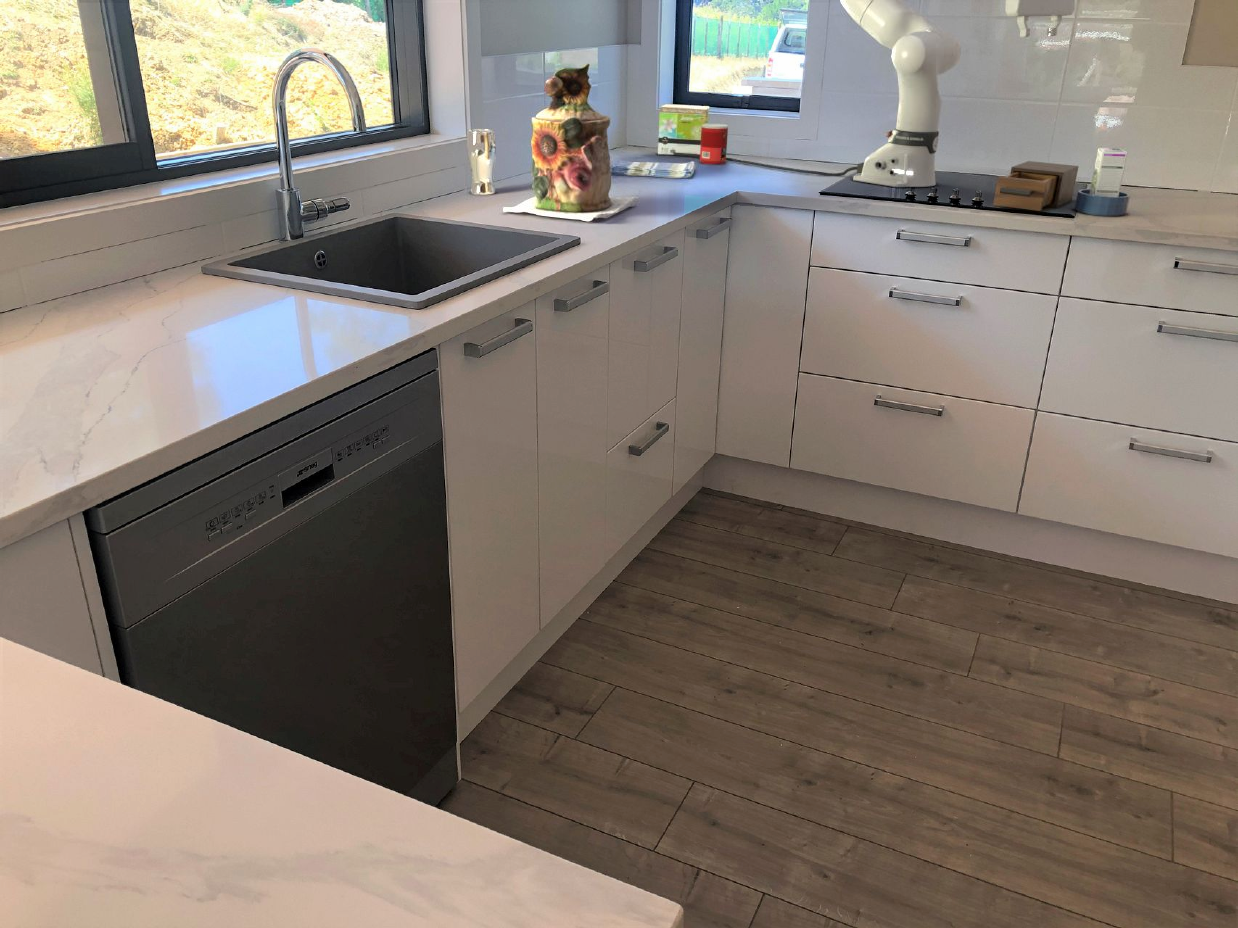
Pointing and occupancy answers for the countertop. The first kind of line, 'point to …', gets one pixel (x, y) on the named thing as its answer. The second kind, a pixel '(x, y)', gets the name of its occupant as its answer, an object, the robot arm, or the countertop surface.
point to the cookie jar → (571, 154)
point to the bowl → (1101, 204)
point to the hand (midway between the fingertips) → (1038, 36)
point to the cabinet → (1063, 172)
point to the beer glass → (482, 160)
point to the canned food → (713, 143)
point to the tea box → (681, 128)
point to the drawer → (1025, 190)
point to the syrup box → (1108, 172)
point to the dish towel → (653, 169)
